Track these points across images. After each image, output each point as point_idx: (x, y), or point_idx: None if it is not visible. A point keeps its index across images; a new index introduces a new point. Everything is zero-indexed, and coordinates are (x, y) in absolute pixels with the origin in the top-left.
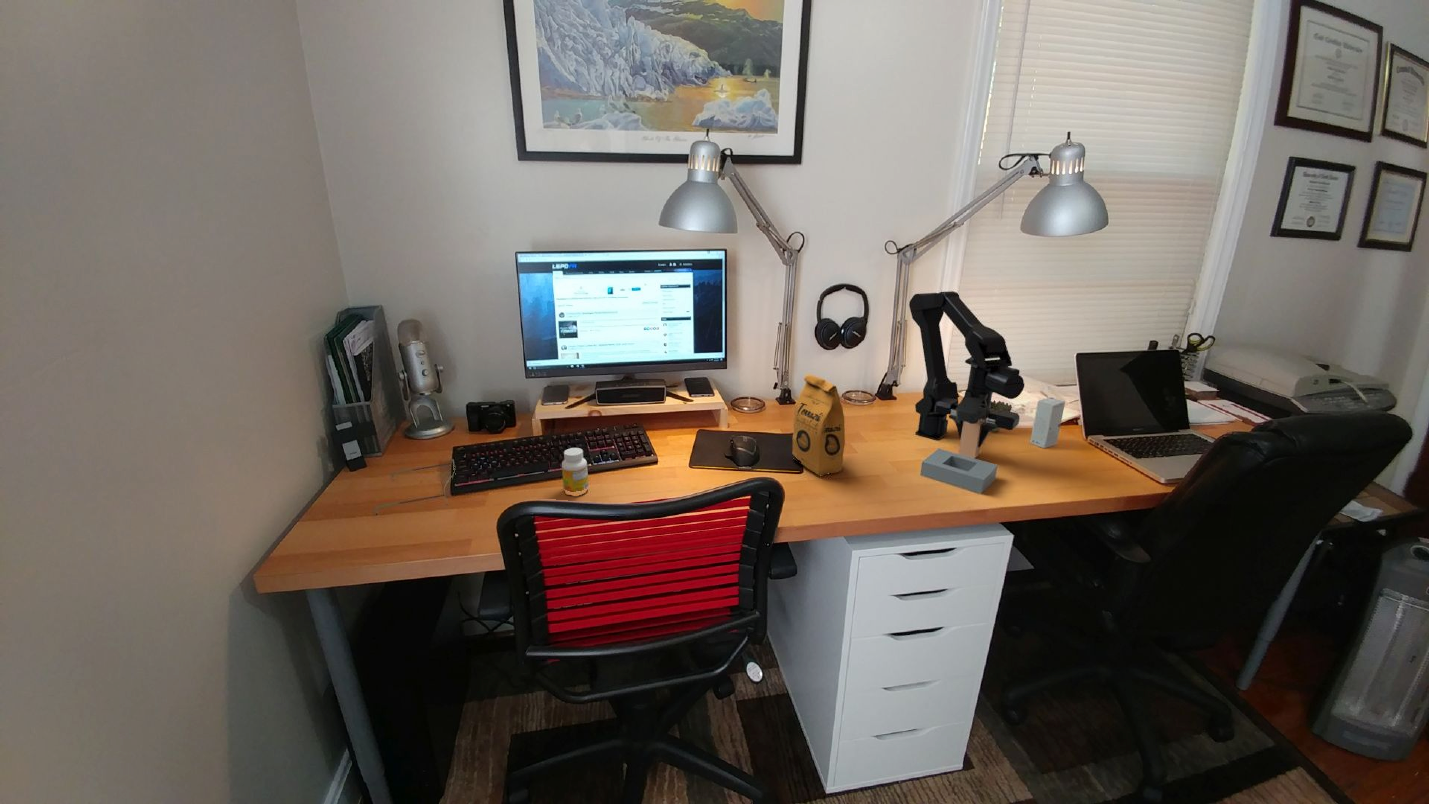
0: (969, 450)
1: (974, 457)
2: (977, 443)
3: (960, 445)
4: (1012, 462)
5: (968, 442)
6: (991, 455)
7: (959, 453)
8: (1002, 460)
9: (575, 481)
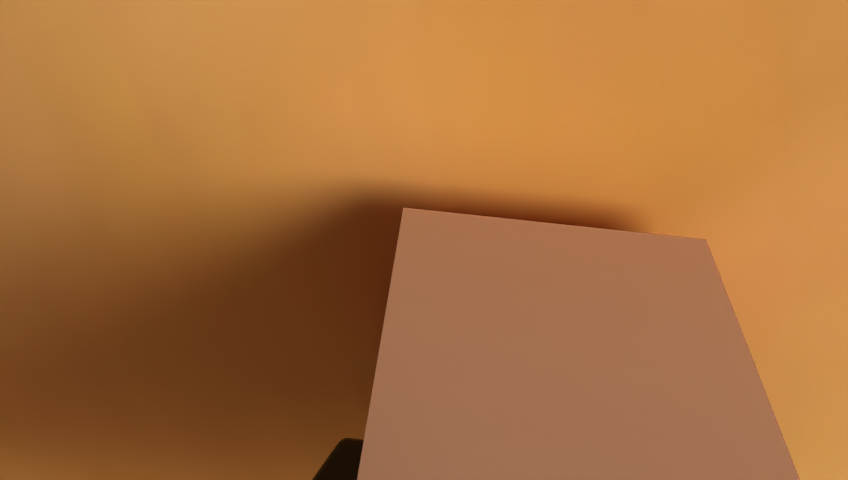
0: (517, 307)
1: (402, 220)
2: (359, 476)
3: (736, 371)
4: (3, 410)
5: (582, 454)
6: (279, 465)
7: (687, 249)
8: (115, 406)
9: None
